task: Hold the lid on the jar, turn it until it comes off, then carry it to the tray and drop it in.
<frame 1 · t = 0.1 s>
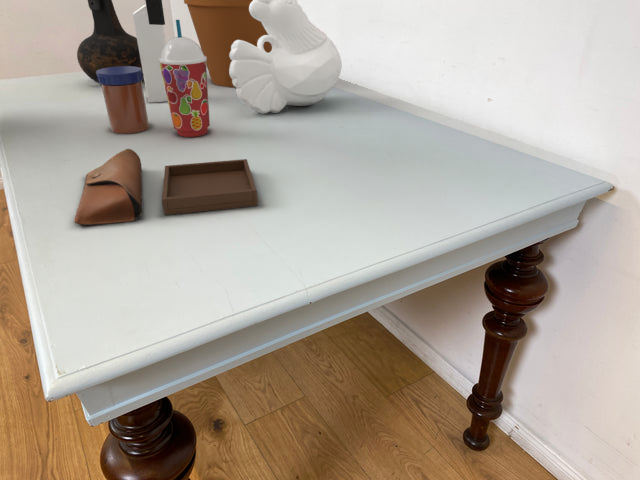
hand: (133, 29, 78), 19 cm above the table, tool pointing down, fingers open, 13 cm apart
flowerpot: (245, 80, 135), on the table
jar: (130, 128, 95), on the table
lid: (119, 72, 90), point 11 cm above the table, screwed on, not yet turned
dark brown rounded piece: (119, 83, 132), on the table
sunglasses case: (113, 197, 68), on the table
smoothie: (192, 133, 93), on the table
tray: (210, 192, 69), on the table
decorative rooster: (285, 107, 110), on the table
milk: (161, 99, 116), on the table
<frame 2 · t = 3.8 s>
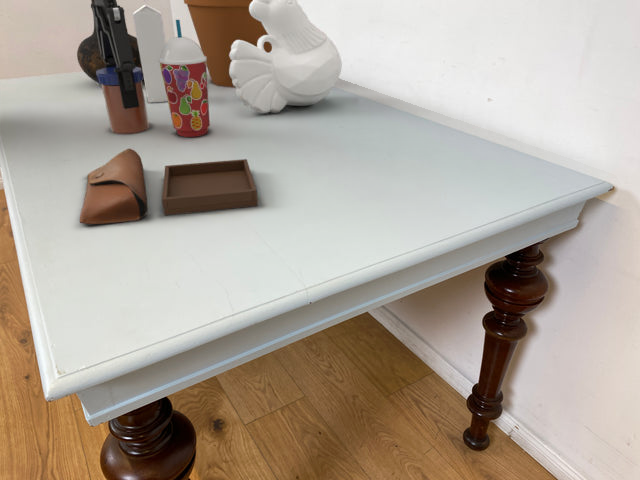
hand: (125, 102, 93), 5 cm above the table, tool pointing down, fingers closed on lid, 8 cm apart
lid: (119, 72, 90), point 11 cm above the table, screwed on, not yet turned, touching gripper
everything else where it was.
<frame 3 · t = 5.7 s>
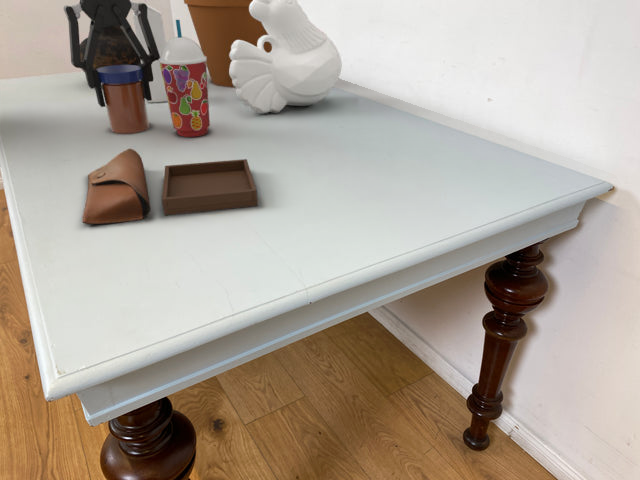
hand: (125, 101, 93), 5 cm above the table, tool pointing down, fingers closed on lid, 8 cm apart
lid: (119, 71, 90), point 11 cm above the table, turned 89° so far, risen 0.2 cm, still on its thread, touching gripper
everything else where it was.
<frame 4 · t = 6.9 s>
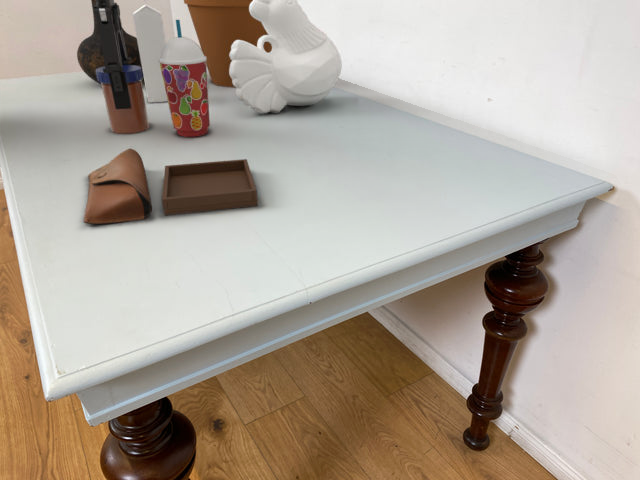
hand: (125, 102, 93), 5 cm above the table, tool pointing down, fingers closed on lid, 8 cm apart
lid: (118, 70, 90), point 11 cm above the table, off its thread, touching gripper
everything else where it was.
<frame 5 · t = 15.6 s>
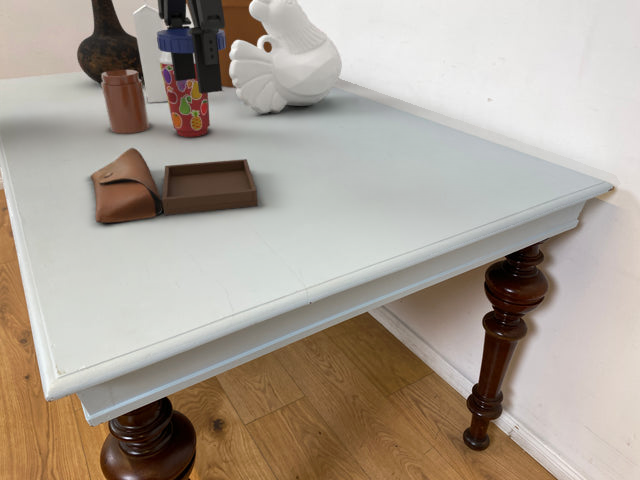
hand: (197, 85, 61), 15 cm above the table, tool pointing down, fingers closed on lid, 8 cm apart
lid: (191, 35, 58), point 21 cm above the table, off its thread, touching gripper
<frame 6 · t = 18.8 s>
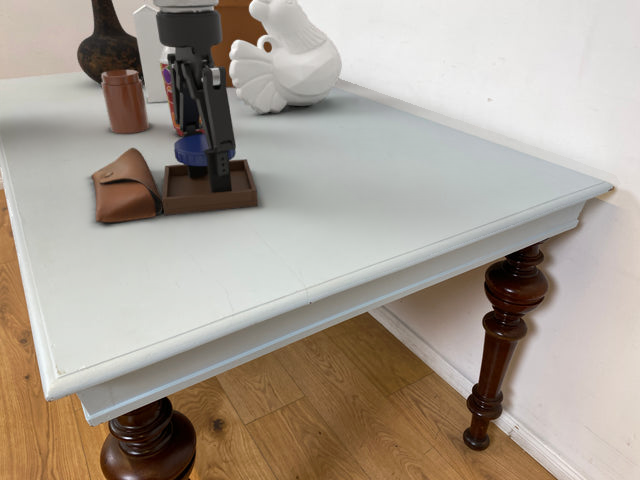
hand: (209, 185, 68), 1 cm above the table, tool pointing down, fingers closed on lid, 8 cm apart
lid: (204, 145, 65), point 7 cm above the table, off its thread, touching gripper
when the fingers open (2 cm above the table, at t = 27.6 s): lid drops 6 cm, resting on tray.
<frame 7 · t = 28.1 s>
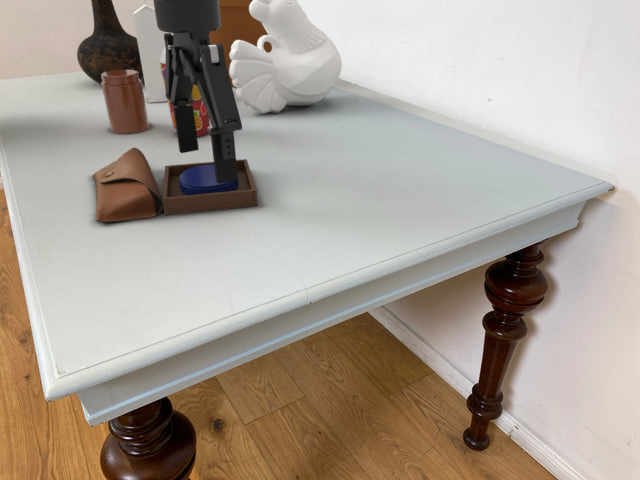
hand: (206, 165, 67), 4 cm above the table, tool pointing down, fingers open, 13 cm apart
lid: (208, 177, 68), point 2 cm above the table, off its thread, touching tray
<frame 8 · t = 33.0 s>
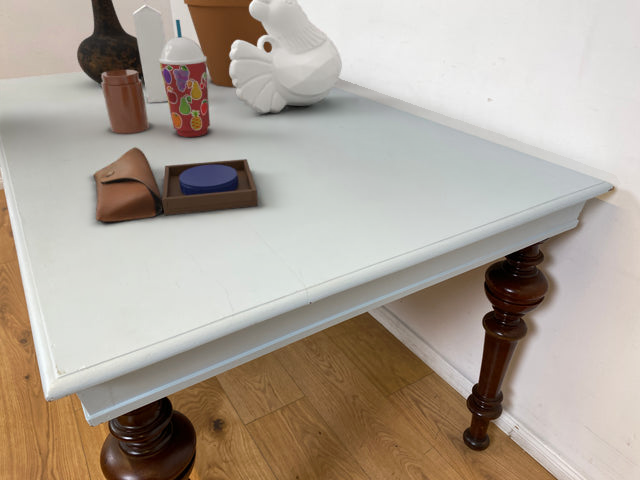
at the end: lid inside the target area in the tray (0.1 cm from its centre), point 2.3 cm above the tray's base; lid point 2.3 cm above the table; the gripper is holding nothing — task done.
